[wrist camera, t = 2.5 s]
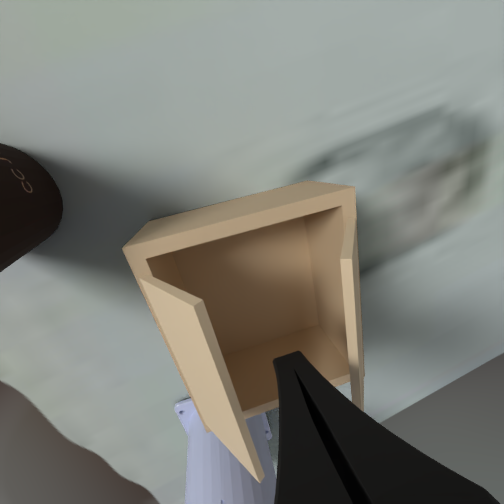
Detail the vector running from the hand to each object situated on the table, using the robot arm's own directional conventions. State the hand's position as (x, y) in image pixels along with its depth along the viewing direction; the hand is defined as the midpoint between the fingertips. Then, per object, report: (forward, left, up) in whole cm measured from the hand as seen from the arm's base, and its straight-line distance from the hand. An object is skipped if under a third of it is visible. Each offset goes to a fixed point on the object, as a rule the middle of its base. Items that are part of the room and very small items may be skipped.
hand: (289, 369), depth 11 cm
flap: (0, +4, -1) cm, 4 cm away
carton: (0, 0, -9) cm, 9 cm away
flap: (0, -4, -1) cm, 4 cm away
